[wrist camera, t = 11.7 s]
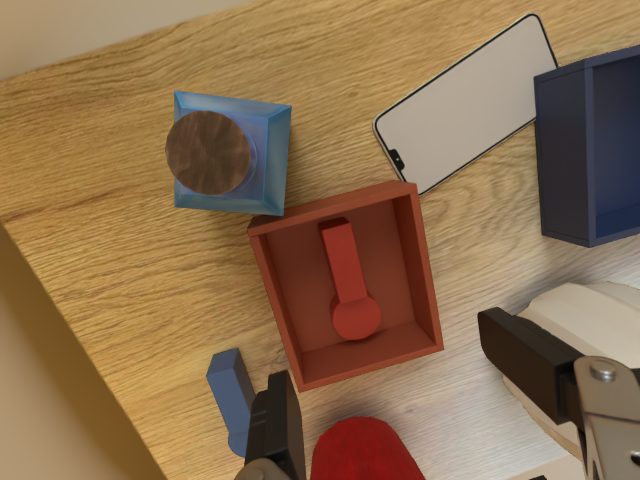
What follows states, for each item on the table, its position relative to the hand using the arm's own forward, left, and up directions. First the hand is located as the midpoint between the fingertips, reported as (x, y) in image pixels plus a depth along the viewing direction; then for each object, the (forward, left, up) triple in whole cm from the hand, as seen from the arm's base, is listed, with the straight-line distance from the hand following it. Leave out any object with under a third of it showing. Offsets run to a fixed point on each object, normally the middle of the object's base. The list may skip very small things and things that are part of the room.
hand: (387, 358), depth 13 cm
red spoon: (+2, +1, -14) cm, 14 cm away
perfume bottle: (-9, -5, -14) cm, 18 cm away
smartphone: (-9, +13, -15) cm, 22 cm away
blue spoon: (+11, -11, -14) cm, 21 cm away
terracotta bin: (+2, +1, -14) cm, 14 cm away
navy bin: (-3, +25, -14) cm, 28 cm away
